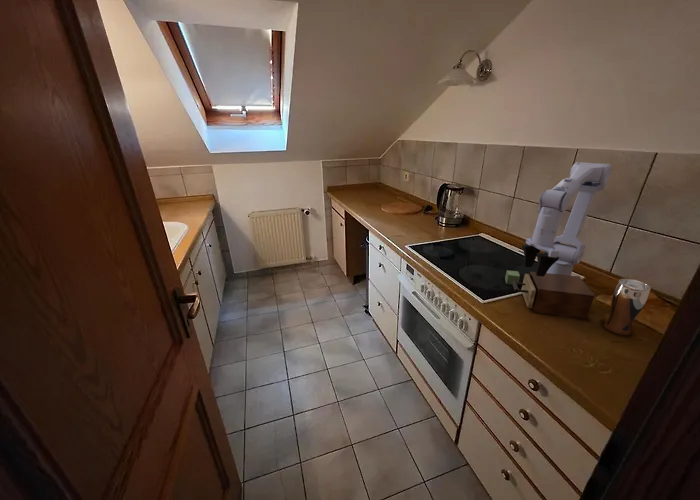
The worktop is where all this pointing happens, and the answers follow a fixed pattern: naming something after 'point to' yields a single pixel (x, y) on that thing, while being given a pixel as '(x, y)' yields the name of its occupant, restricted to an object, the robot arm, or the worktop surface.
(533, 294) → the drawer
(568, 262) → the robot arm
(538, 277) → the cabinet
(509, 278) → the block
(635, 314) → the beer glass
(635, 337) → the worktop surface
